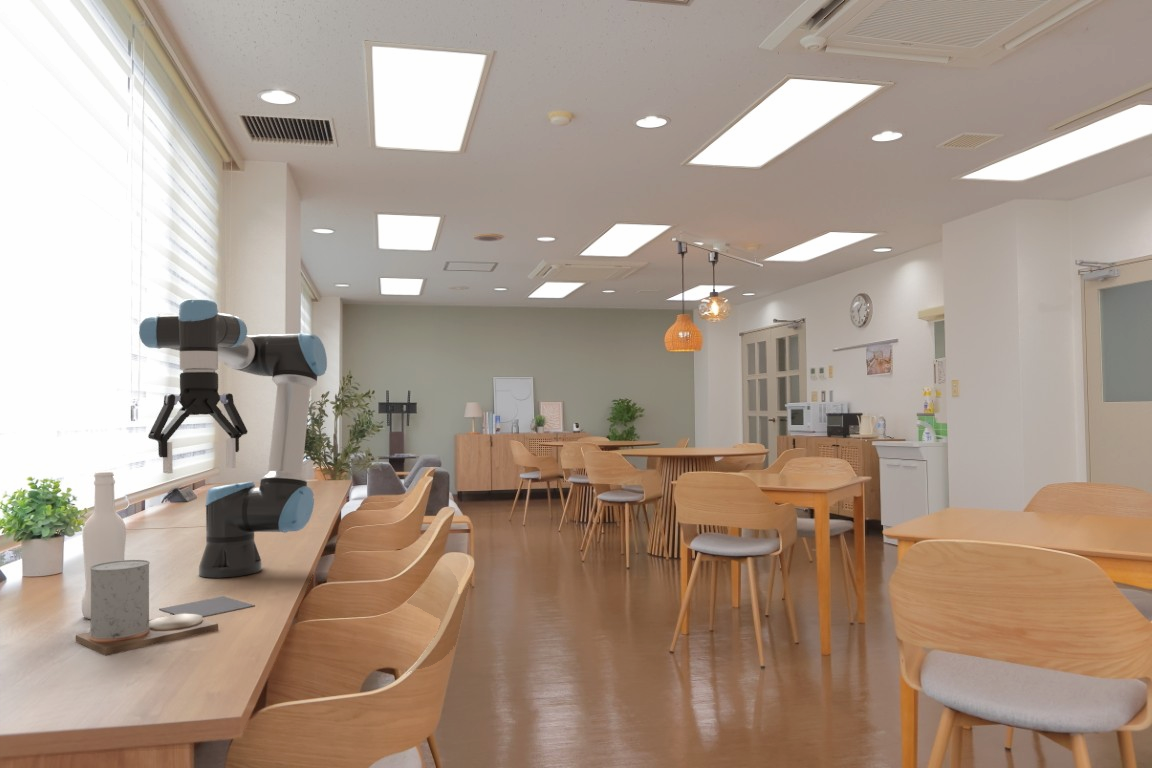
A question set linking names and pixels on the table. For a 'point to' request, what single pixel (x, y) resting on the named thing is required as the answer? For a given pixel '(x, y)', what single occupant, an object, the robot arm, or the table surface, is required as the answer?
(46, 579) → the table surface
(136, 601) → the grey marbled cylinder
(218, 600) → the mat
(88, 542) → the bottle
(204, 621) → the board
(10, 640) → the table surface
